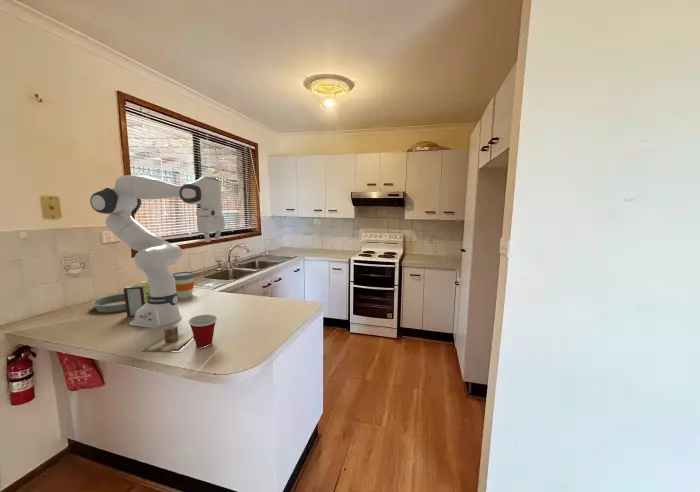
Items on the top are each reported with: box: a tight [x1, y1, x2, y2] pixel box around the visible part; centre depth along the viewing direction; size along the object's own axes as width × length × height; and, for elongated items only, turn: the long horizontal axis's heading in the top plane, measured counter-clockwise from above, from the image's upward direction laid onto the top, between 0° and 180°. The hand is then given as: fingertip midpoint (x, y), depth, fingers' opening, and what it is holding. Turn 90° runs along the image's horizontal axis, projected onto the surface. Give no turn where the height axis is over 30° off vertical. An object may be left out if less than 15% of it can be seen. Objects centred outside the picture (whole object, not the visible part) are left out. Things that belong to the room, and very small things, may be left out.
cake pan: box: [91, 292, 126, 313], centre depth 169 cm, size 25×25×4 cm
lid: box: [145, 325, 194, 351], centre depth 123 cm, size 13×13×7 cm
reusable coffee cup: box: [171, 271, 195, 299], centre depth 186 cm, size 13×13×15 cm
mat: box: [140, 334, 172, 353], centre depth 123 cm, size 16×15×1 cm
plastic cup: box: [188, 314, 218, 348], centre depth 121 cm, size 11×11×12 cm
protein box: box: [123, 280, 150, 317], centre depth 159 cm, size 10×15×16 cm
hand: (212, 240), depth 138 cm, fingers open, 8 cm apart
